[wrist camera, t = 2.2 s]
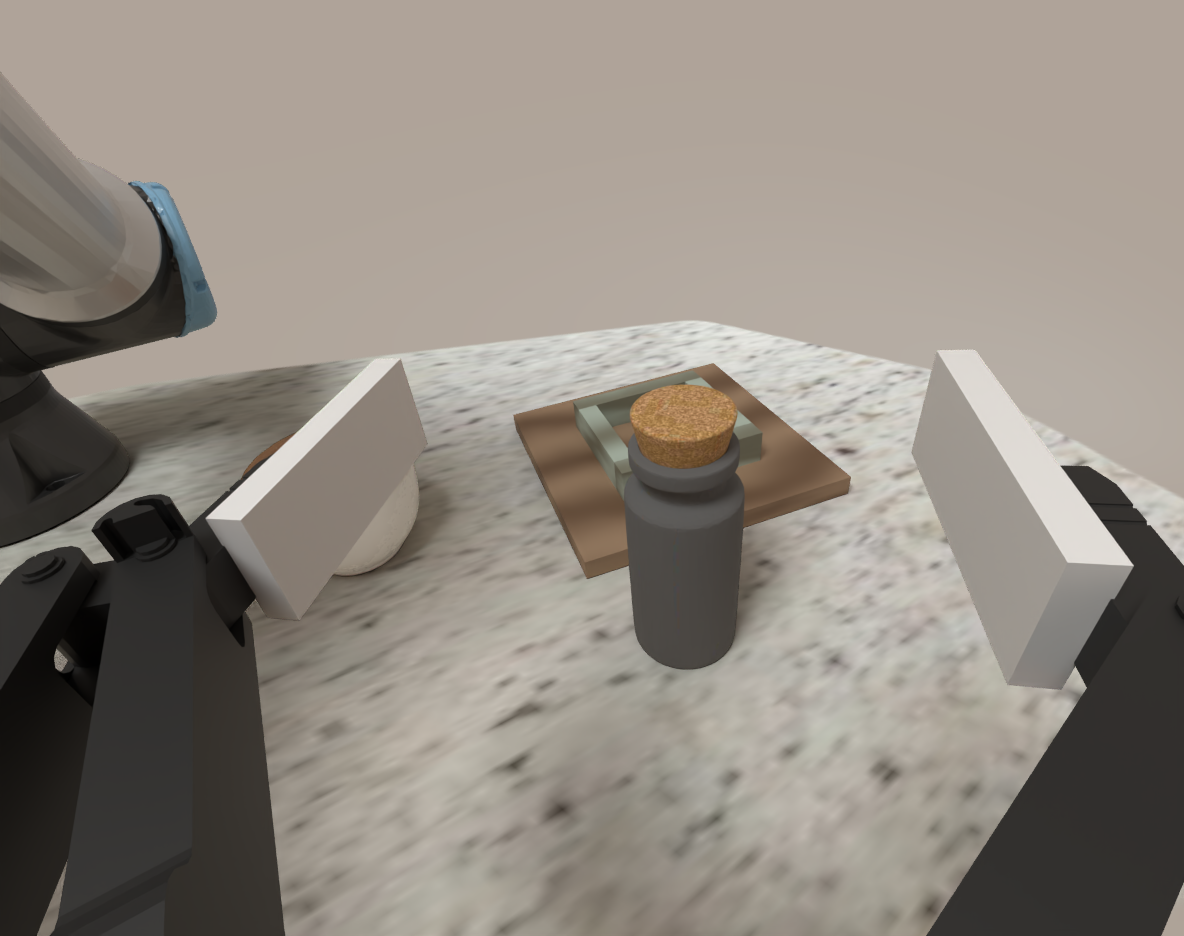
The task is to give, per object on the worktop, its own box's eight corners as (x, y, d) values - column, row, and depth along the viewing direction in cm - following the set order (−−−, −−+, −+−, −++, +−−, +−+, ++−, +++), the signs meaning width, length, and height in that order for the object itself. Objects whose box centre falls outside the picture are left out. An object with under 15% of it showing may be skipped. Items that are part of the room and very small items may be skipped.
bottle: (707, 688, 32) (715, 462, 23) (615, 641, 35) (590, 425, 26) (751, 613, 36) (772, 393, 27) (664, 576, 39) (658, 367, 30)
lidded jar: (458, 502, 47) (427, 398, 41) (394, 610, 38) (345, 497, 33) (338, 494, 49) (293, 394, 44) (253, 593, 41) (185, 486, 35)
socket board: (516, 429, 55) (508, 390, 52) (712, 377, 59) (714, 339, 56) (587, 578, 39) (580, 533, 37) (847, 493, 43) (857, 448, 41)
